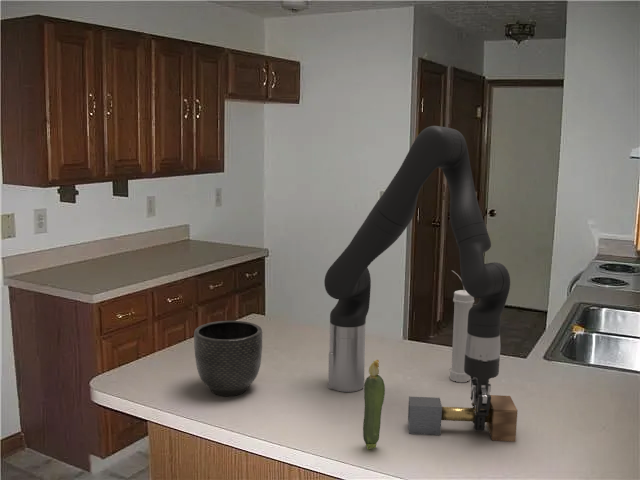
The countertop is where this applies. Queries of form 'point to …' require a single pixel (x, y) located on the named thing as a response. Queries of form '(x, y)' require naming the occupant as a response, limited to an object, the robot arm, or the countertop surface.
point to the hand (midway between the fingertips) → (478, 426)
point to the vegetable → (373, 405)
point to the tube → (463, 414)
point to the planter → (228, 355)
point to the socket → (503, 419)
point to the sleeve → (424, 415)
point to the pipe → (460, 334)
